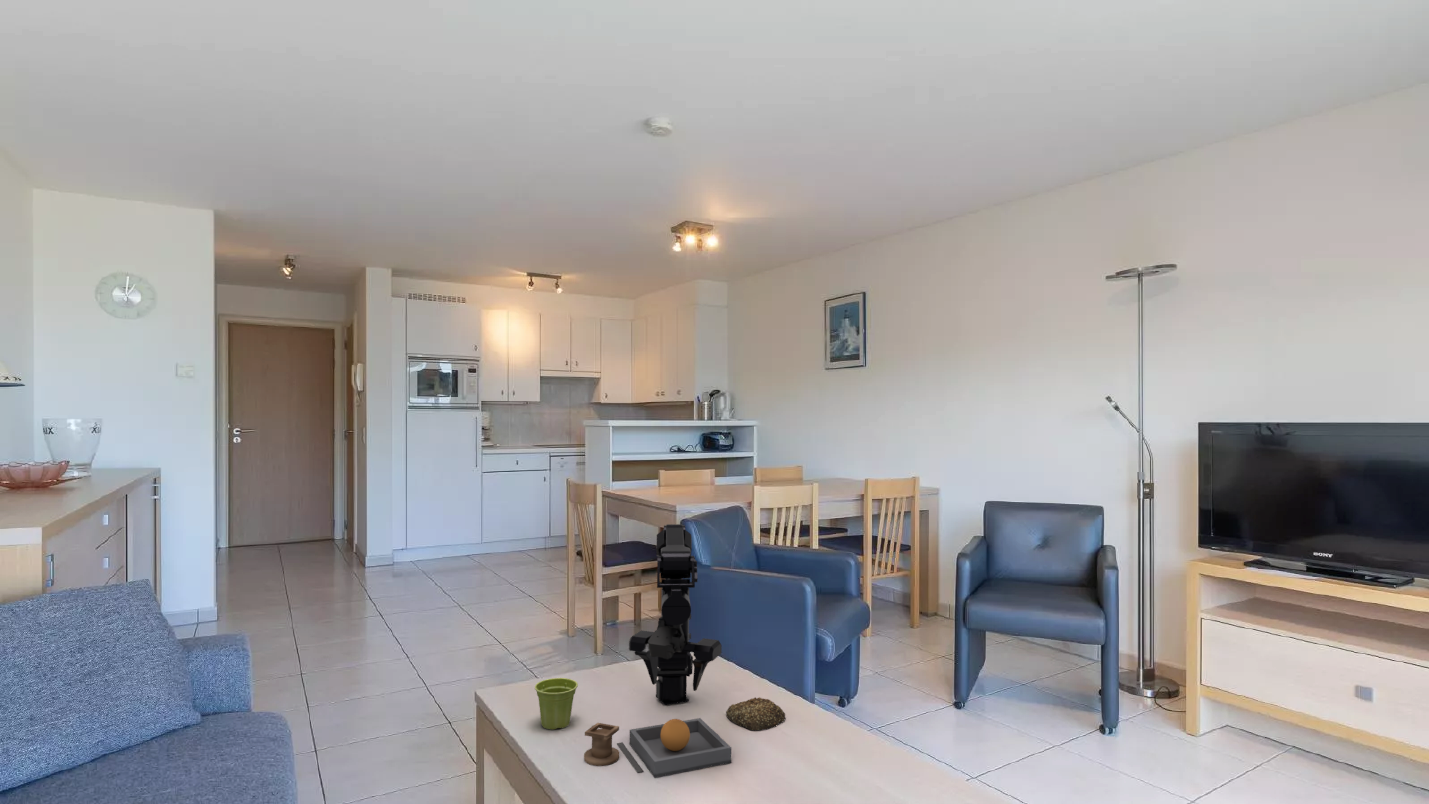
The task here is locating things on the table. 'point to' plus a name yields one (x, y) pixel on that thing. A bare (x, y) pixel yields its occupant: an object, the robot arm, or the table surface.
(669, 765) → the grey square tray
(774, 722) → the brown speckled mound
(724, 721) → the table surface
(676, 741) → the ball
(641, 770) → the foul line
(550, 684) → the plant pot
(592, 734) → the tee
